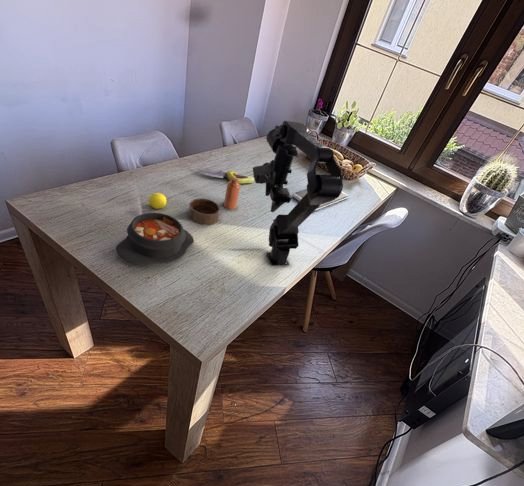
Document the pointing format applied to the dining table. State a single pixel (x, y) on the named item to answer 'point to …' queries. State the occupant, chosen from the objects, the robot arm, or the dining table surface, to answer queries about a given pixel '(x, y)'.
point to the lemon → (157, 200)
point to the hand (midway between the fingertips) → (269, 203)
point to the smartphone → (302, 193)
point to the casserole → (154, 240)
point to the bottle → (232, 194)
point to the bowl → (204, 211)
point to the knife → (229, 176)
